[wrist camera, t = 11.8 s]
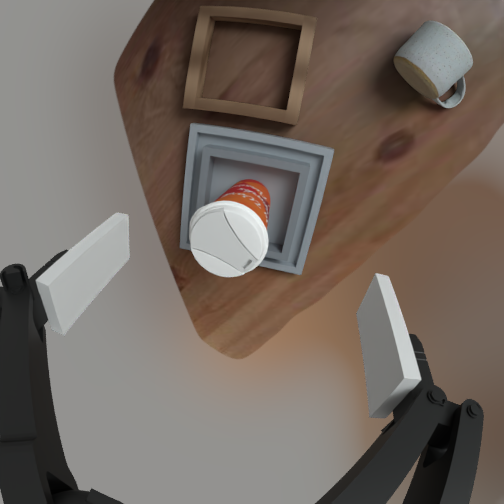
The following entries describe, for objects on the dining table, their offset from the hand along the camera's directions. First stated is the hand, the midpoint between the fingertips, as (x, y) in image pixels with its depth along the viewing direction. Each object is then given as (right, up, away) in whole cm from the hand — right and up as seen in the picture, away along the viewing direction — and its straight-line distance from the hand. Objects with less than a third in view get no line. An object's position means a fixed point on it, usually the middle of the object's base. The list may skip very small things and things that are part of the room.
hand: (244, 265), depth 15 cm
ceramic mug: (+23, +24, +13) cm, 36 cm away
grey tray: (0, +8, +25) cm, 26 cm away
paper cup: (0, +8, +25) cm, 26 cm away
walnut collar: (0, +24, +16) cm, 29 cm away
